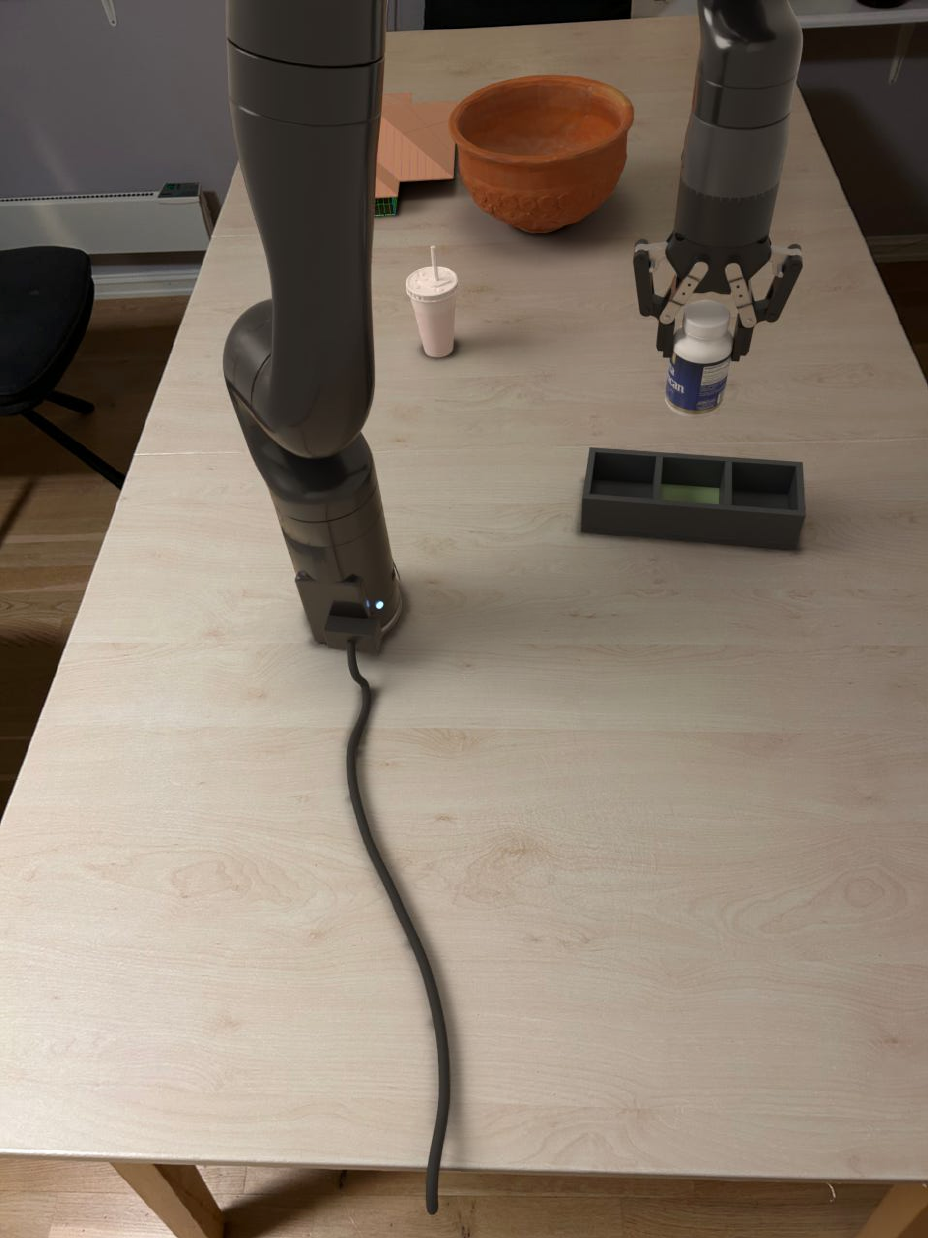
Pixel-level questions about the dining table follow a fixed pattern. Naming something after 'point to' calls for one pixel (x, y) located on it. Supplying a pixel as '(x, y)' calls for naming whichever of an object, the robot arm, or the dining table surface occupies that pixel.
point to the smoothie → (434, 306)
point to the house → (412, 144)
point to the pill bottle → (699, 360)
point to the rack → (694, 498)
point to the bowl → (542, 148)
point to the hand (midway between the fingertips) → (701, 353)
